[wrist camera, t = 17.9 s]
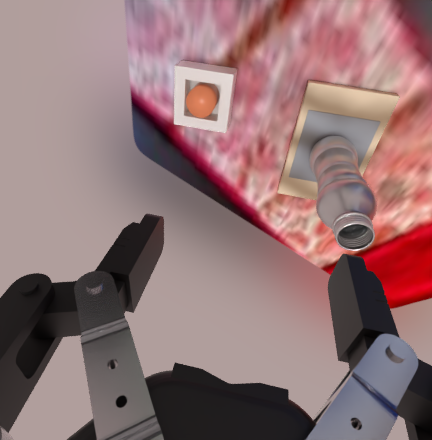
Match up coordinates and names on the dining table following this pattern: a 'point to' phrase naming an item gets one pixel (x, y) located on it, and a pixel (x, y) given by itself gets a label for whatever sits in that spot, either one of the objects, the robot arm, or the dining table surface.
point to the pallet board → (334, 129)
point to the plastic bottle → (343, 193)
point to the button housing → (200, 72)
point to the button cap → (202, 99)
